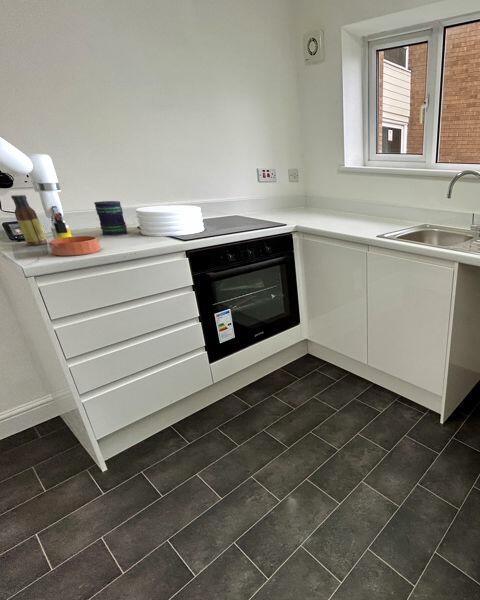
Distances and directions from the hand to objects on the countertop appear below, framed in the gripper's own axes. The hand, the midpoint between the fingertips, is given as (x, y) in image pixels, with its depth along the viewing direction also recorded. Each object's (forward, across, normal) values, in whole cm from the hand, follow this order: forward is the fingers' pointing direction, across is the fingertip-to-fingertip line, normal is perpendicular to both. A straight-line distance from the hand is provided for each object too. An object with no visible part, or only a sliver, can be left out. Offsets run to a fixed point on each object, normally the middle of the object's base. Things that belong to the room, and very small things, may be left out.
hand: (60, 231), depth 144 cm
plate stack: (+6, -10, +43) cm, 45 cm away
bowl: (+6, +16, +2) cm, 17 cm away
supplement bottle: (+6, 0, 0) cm, 6 cm away
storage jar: (+6, -18, +20) cm, 28 cm away
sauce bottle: (+6, -10, -8) cm, 14 cm away
